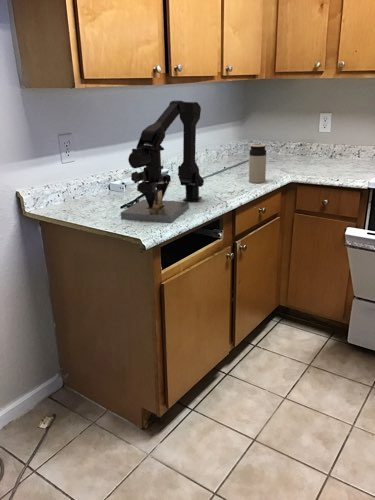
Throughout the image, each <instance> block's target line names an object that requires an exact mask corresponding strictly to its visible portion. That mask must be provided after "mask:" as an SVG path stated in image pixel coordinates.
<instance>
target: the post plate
mask: <svg viewBox="0 0 375 500" xmlns="http://www.w3.org/2000/svg"><path fill="white" fill-rule="evenodd" d="M162 203H163V208H161V209H160V210H159V209H149V205H148V203H147V200H146V198H143V199H141V200H140V201H138V202H136V203H134V204H132V205H131V206H130V207H127V208H125V209H124V210H122V211H121V212H120V219H121V220H129V221H130V220H131V221H141V222H144V221H145V222H155V223H167V224H168V223H169V224H172V223H173V222H174V221H175V220H176V219H177V218H179V217H180V216H181V215H183V214H184V213H185V212H186V211H187V210H188V209H189V208H190V201H178V200H176V201H175V200H162ZM172 221H173V222H172Z"/></svg>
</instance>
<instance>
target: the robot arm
mask: <svg viewBox="0 0 375 500" xmlns="http://www.w3.org/2000/svg"><path fill="white" fill-rule="evenodd" d="M201 111H202V107H201V105H200V104H199V102H197V101H183V100H171V101H170V102H169V104H168V106H167V107H166V108H165V110H164V111H163V112H162V114H161V115H160V116H159V117H158V119H156V120H155V122H154V123H152V124H150V125H148V126H147V127H145V128H144V129H142V131H141V134H140V137H139V140H138V142H137V144H136V148H132V149H131V152H130V154H129V155H128V158H127V160H128V163H129V165H130V167H131V168H133V169H140V168H143V169H142V171H139V172H138V170H137V171H134V172H131V175H130V177H131V178H130V180H131V181H132V182H133V183H134V184H137V185H136V190H137V192H139V193H141V194H142V195H143V196H144V197H145V198H144V199H146V200H147V203H148V205H149V207H150V208H152V207H153V204H154V200H155V196H156V191H157V190H162V200H163V199H164V197H165V195H166V192H167V189H168V187H169V185H170V182H171V181H172V179H171V178H172V177H171V175H169V174H168V173H162V170H164V165H162V157H161V156H162V155H161V153H162V151H165V148H164V147H163V146H162V143H163V142H164V140H165V138H166V131H167V130H168V129H169V128H170V127H171V125H172V124H173V122H174V121H175V120H176V118H177V117H178V116H179V119H180V121H181V123H182V125H183V132H182V133H183V138H182V139H183V149H182V153H183V154H182V163H181V164H180V165H178V167H177V169H178V170H177V171H178V172H177V176H178V180H179V183H180V185H181V186H185V188H184V189H185V197H184V198H183V199H182V202H199V201H200V200H201V199H202V198H203V197H202V196H200V188H202V187H203V186H204V184H205V183H204V182H205V180H204V179H203V177H202V176H201V174H200V168H199V165H198V164H197V162H196V146H197V145H196V139H197V137H196V135H197V134H196V133H197V130H196V129H197V124H198V122H199V120H200V119H201ZM163 201H164V200H163Z"/></svg>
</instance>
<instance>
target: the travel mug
mask: <svg viewBox="0 0 375 500" xmlns="http://www.w3.org/2000/svg"><path fill="white" fill-rule="evenodd" d="M266 145H267V144H266V143H252V144H250V145H249V146H250V150H249V157H248V160H249V161H248V162H249V163H248V182H249V183H252V184H262V183H263V184H264V183H265V182H266V174H267V173H266V171H267V170H266V169H267V167H266V166H267V150H266Z"/></svg>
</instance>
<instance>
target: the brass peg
mask: <svg viewBox="0 0 375 500" xmlns="http://www.w3.org/2000/svg"><path fill="white" fill-rule="evenodd" d="M156 190H157V189H156ZM161 208H163V203H162V190H157V191H156V196H155V200H154V204H153V207H152V208H150V207H149V209H159V210H160V209H161Z"/></svg>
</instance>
